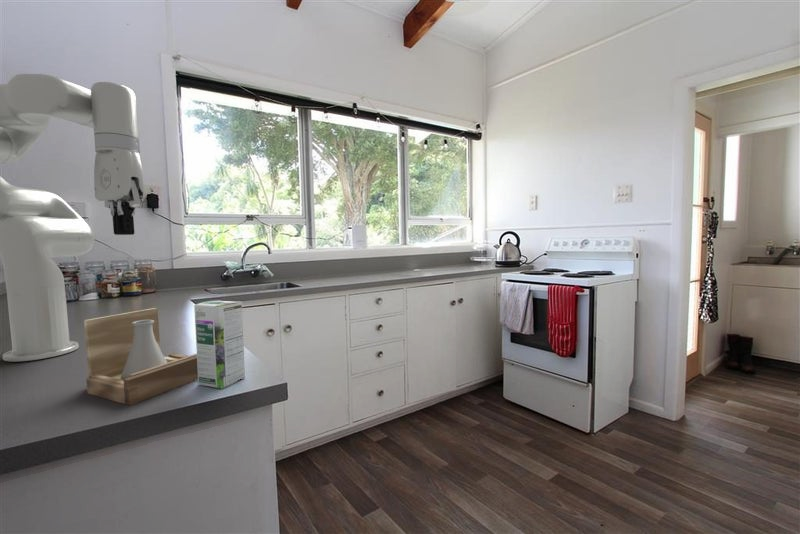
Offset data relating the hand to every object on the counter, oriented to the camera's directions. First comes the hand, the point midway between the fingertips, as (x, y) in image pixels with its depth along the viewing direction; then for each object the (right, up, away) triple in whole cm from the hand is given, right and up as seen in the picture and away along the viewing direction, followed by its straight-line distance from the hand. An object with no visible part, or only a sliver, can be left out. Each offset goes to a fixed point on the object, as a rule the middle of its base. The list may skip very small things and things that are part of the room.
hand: (124, 234), depth 79 cm
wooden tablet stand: (+13, -28, -11) cm, 33 cm away
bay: (+15, -28, -12) cm, 34 cm away
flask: (+12, -27, -11) cm, 32 cm away
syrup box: (+27, -28, -12) cm, 41 cm away
